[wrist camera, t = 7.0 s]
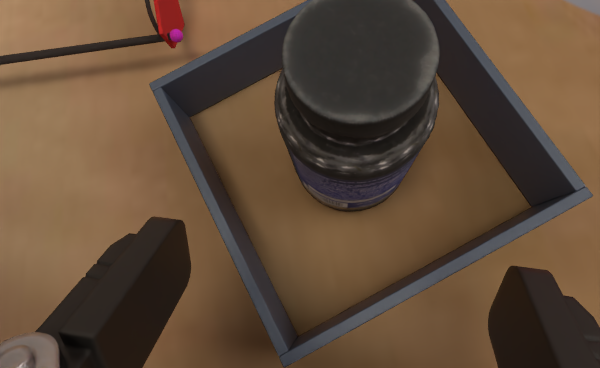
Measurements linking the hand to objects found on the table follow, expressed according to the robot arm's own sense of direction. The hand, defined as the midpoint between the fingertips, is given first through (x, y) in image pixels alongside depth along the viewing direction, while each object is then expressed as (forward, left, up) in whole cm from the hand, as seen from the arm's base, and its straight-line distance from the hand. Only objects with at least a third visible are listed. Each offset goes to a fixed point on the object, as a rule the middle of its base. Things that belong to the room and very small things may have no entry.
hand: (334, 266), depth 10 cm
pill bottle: (-5, +4, -11) cm, 13 cm away
